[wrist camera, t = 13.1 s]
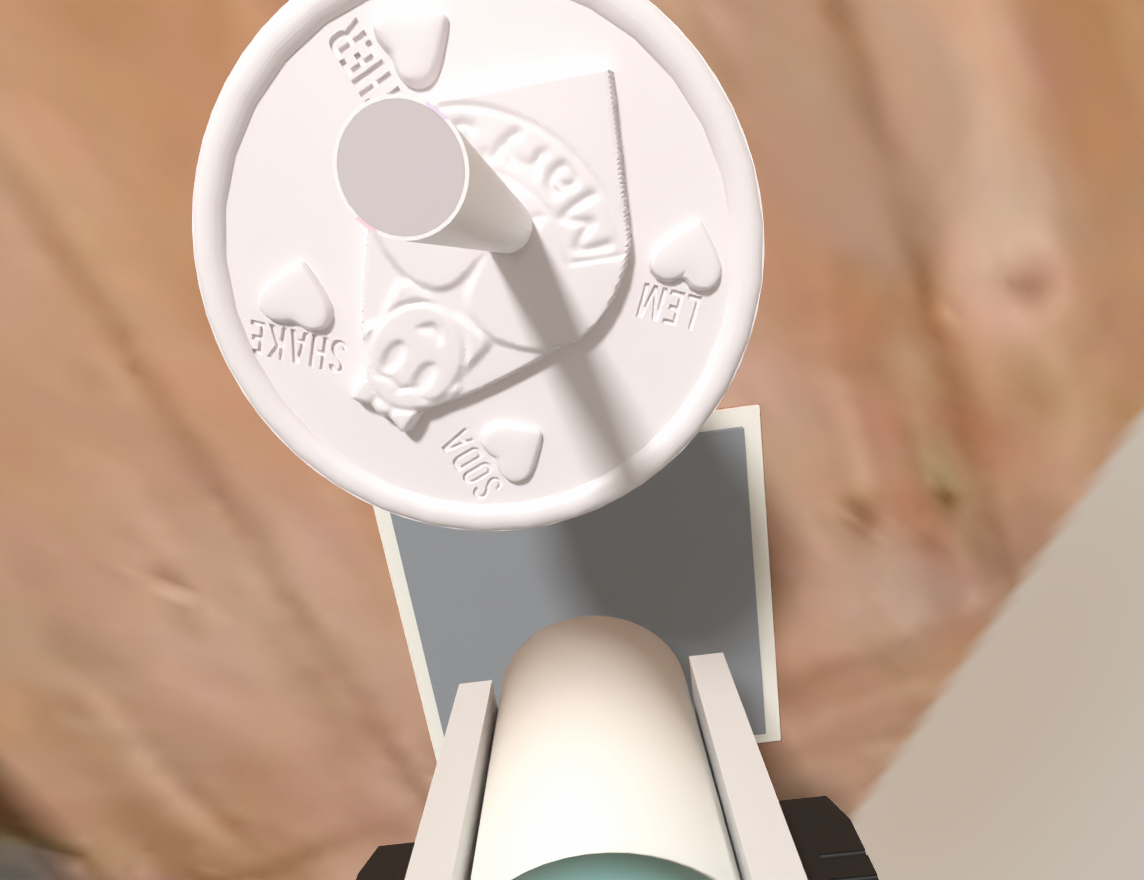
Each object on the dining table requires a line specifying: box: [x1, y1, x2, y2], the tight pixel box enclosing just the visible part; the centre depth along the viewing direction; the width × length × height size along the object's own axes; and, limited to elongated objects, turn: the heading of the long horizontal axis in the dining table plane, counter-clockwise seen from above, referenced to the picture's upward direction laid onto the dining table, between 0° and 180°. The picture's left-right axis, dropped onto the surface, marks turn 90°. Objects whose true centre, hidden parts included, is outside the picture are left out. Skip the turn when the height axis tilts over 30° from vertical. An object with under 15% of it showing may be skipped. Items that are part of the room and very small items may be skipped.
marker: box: [471, 616, 741, 880], centre depth 11 cm, size 4×4×7 cm
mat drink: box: [373, 405, 781, 762], centre depth 19 cm, size 11×11×1 cm
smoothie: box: [192, 0, 764, 531], centre depth 9 cm, size 6×6×14 cm
